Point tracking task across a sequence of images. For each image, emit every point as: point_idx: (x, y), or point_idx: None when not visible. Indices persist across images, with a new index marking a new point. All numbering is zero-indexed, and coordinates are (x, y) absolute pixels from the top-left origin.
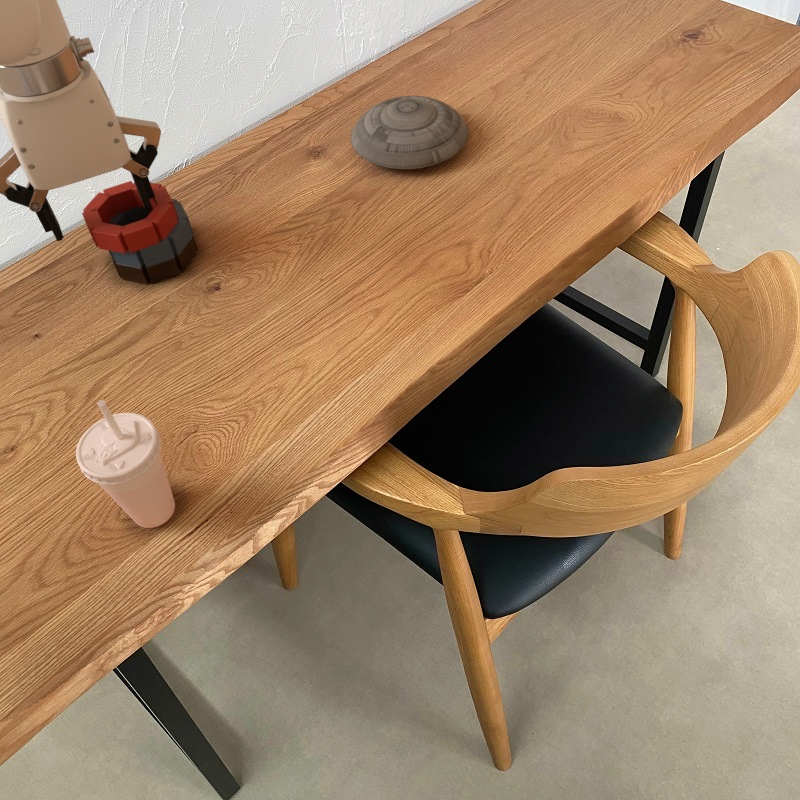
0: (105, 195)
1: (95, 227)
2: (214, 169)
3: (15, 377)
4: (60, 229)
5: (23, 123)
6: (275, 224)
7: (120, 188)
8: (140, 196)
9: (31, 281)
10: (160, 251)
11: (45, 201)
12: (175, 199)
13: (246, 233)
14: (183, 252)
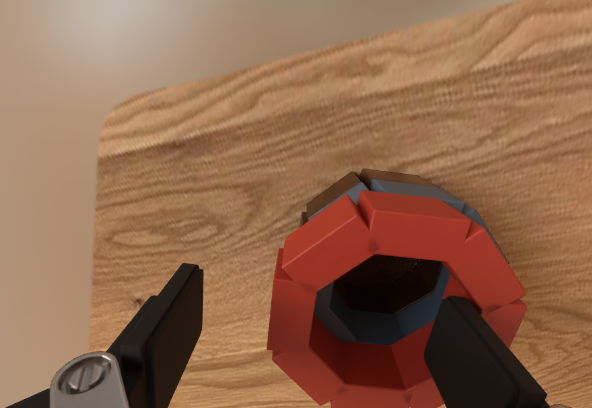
0: (366, 244)
1: (285, 352)
2: None
3: None
4: (199, 310)
5: None
6: (583, 292)
7: (422, 238)
8: (445, 358)
9: (146, 168)
10: None
11: (149, 386)
12: (507, 262)
13: (530, 284)
14: None
